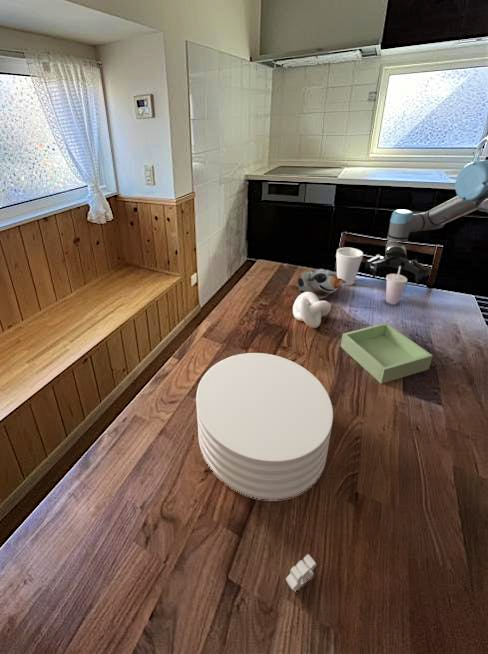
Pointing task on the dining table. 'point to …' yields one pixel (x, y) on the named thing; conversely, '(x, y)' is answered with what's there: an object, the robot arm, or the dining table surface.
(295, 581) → the white stepped block
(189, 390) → the dining table surface
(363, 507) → the dining table surface
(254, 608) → the dining table surface
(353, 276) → the foam cup
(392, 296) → the smoothie
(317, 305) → the white puffy blob
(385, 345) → the bin
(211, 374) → the plate stack
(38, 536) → the dining table surface
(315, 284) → the grey animal head
